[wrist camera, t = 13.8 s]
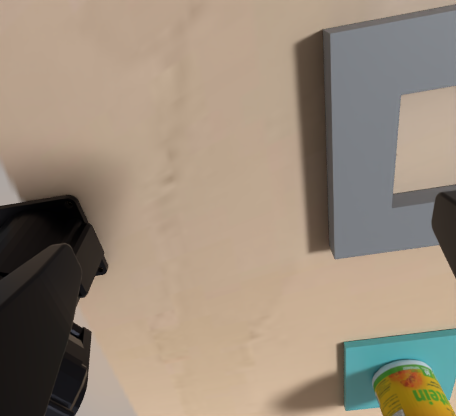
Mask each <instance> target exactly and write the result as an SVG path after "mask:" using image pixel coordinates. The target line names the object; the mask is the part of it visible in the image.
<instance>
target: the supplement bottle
mask: <svg viewBox="0 0 456 416" xmlns="http://www.w3.org/2000/svg"><path fill="white" fill-rule="evenodd" d="M372 385H373V389H374V392H375V395H376V398H377V400H378V403H379V406H380V409H381V411H382V414H383V416H456V415H455V413H454V411H453V409H452V407H451V405H450V403H449V401H448V399H447V397H446V395H445V394H444V392H443V390H442V388H441V386H440V384H439V382H438V380H437V378H436V376H435V374H434V372H433V371H432V369H431V368H430V367H429V366H428V365H427V364H426V363H424V362H422V361H419V360H411V359H407V360H399V361H395V362H391V363H389V364H386V365H384V366H383V367H381V368H380V369H379V370H378V371H377V372H376V373H375V375H374V376H373V379H372Z"/></svg>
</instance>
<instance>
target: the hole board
mask: <svg viewBox="0 0 456 416" xmlns="http://www.w3.org/2000/svg"><path fill="white" fill-rule="evenodd" d="M323 50H324V84H325V118H326V152H327V186H328V219H329V246H330V248H331V251H332V254H333V256H334V259H341V258H348V257H355V256H363V255H370V254H377V253H384V252H392V251H399V250H406V249H413V248H421V247H428V246H435V245H439V243H438V241H437V238H436V236H435V234H434V232H433V230H432V225H431V220H432V214H433V208H434V203H435V198H436V195H437V194H438V193H439V192H444V191H451V190H456V185H451V186H444V187H438V188H431V189H424V190H418V191H411V192H404V193H398V194H393V185H394V173H395V161H396V149H397V136H398V124H399V112H400V100H401V95H403V94H409V93H415V92H421V91H427V90H433V89H438V88H444V87H450V86H456V4H455V5H450V6H445V7H439V8H434V9H429V10H423V11H418V12H413V13H407V14H402V15H397V16H391V17H386V18H381V19H376V20H370V21H365V22H360V23H354V24H349V25H344V26H338V27H333V28H328V29H323Z"/></svg>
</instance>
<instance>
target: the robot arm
mask: <svg viewBox="0 0 456 416" xmlns="http://www.w3.org/2000/svg"><path fill="white" fill-rule="evenodd" d="M67 202H70V203H72V205H69V204H68V203H67ZM431 225H432V230H433V232H434V234H435V236H436V238H437V241H438V243H439V245H440V247H441V249H442V251H443V253H444V255H445V257H446V259H447V261H448V263H449V266H450V268H451V270H452V272H453V274H454V276H455V278H456V190H451V191H444V192H439V193H438V194H437V195H436V198H435V203H434V208H433V214H432V220H431ZM99 267H101V268H99ZM102 268H103V269H102ZM107 269H108V264H107V262H106V259H105V257H104V251H103V249H102V246H101V244H100V242H99V240H98V238H97V235H96V233H95V231H94V229H93V227H92V225H91V224H90V223H88V221H87V218H86V216H85V214H84V212H83V210H82V208H81V206H80V203H79V201H78V200H77V198H76V197H74V196H72V195H65V196H59V197H53V198H47V199H41V200H34V201H28V202H22V203H16V204H10V205H4V206H0V416H75V414H76V412H77V411H78V409H79V407H80V405H81V402H82V400H83V398H84V395H85V392H86V388H87V381H88V369H89V357H90V345H91V333H92V332H91V331H90V330H88V329H86V328H85V327H83V328H81V327H80V326H78V325H77V324H75V323H74V322H73V320H74V314H75V310H76V306H77V304H78V302H79V299H80V298H84V297H85V296H86V295H87V294H88V291H89V289H90V287H91V284H92V282H93V279H94V277H95V276H98V275H103V274H105V273H106V272H107Z"/></svg>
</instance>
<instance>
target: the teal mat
mask: <svg viewBox="0 0 456 416" xmlns="http://www.w3.org/2000/svg"><path fill="white" fill-rule="evenodd" d="M407 359H411V360H419V361H422V362H424V363H426V364H427V365H428V366H429V367H430V368H431V369H432V371H433V372H434V374H435V376H436V378H437V380H438V382H439V384H440V386H441V388H442V390H443V392H444V394H445V395H446V397H447V399H448V400H450V397H451V393H452V390H453V386H454V383H455V379H456V329H450V330H442V331H433V332H425V333H417V334H408V335H400V336H392V337H383V338H375V339H367V340H358V341H350V342H344V407H345V410H346V411H350V410H359V409H369V408H378V407H380V406H379V403H378V400H377V398H376V395H375V392H374V389H373V385H372V379H373V376H374V375H375V373H376V372H377V371H378V370H379V369H380V368H381V367H383V366H384V365H386V364H389V363H391V362H395V361H399V360H407Z"/></svg>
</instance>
